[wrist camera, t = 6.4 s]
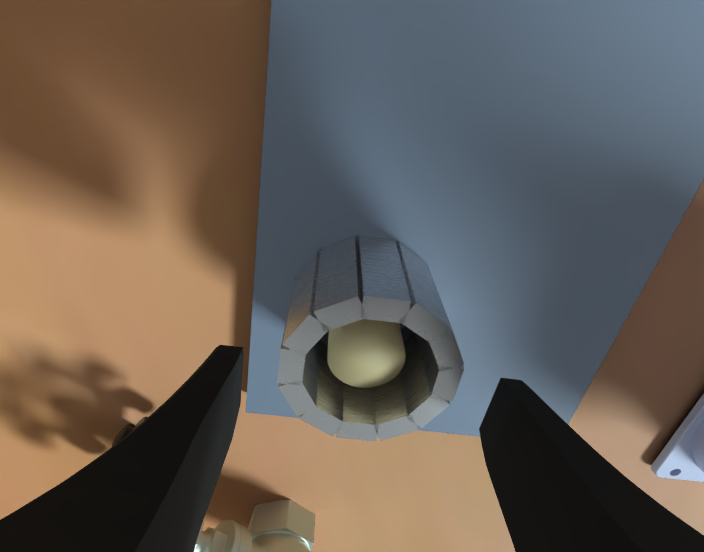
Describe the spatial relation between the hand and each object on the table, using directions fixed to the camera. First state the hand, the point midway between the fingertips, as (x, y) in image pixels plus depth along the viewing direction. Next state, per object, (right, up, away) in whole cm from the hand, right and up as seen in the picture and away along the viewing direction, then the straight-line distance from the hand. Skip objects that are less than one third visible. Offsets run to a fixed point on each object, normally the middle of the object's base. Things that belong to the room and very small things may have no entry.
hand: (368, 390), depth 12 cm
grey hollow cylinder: (0, +2, +4) cm, 4 cm away
